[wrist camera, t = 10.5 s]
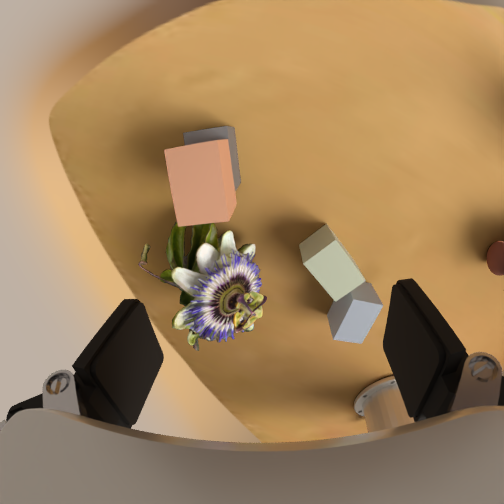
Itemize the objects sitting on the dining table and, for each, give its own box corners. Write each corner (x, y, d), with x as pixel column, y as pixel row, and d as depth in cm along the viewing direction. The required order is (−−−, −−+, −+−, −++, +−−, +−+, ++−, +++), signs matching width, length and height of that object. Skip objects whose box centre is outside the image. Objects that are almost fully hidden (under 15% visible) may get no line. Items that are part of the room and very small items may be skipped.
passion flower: (253, 247, 38) (280, 339, 31) (171, 270, 38) (183, 362, 31) (238, 181, 28) (274, 300, 21) (130, 215, 28) (129, 335, 20)
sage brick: (353, 260, 32) (365, 280, 27) (327, 279, 33) (335, 301, 28) (326, 223, 30) (335, 239, 26) (298, 244, 31) (303, 263, 27)
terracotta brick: (236, 204, 25) (228, 221, 20) (194, 209, 25) (178, 226, 21) (228, 139, 22) (217, 140, 18) (184, 146, 23) (164, 149, 18)
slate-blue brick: (352, 319, 35) (361, 343, 31) (326, 314, 35) (333, 339, 31) (370, 283, 33) (383, 305, 28) (343, 276, 33) (353, 299, 28)
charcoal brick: (240, 182, 29) (235, 191, 24) (204, 186, 29) (192, 196, 25) (234, 127, 26) (227, 125, 22) (197, 132, 27) (183, 133, 22)
